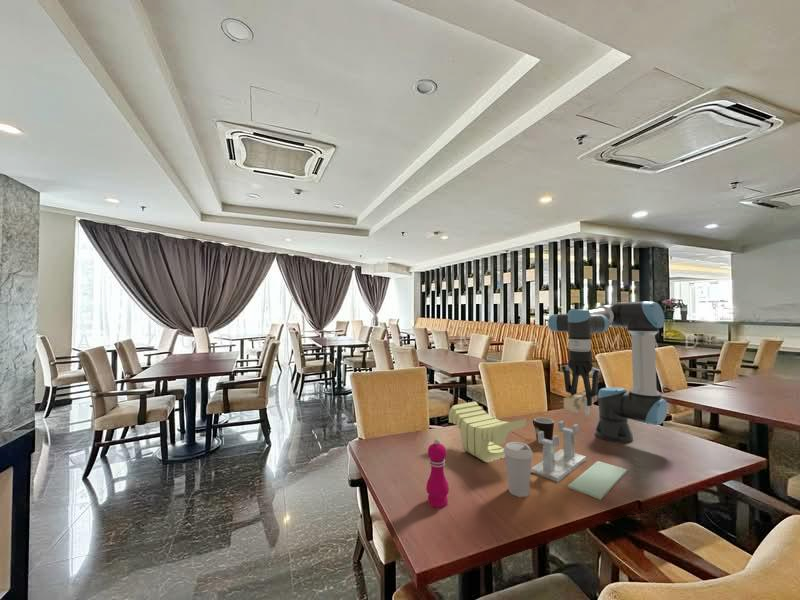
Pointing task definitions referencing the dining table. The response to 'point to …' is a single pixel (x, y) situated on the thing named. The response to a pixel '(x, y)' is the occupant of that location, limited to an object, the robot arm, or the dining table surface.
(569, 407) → the wooden rail
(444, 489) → the pepper mill
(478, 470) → the dining table surface
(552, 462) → the rail stand
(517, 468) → the coffee cup
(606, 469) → the green mat
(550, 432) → the coffee mug
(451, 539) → the dining table surface
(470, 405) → the slatted curved stool
